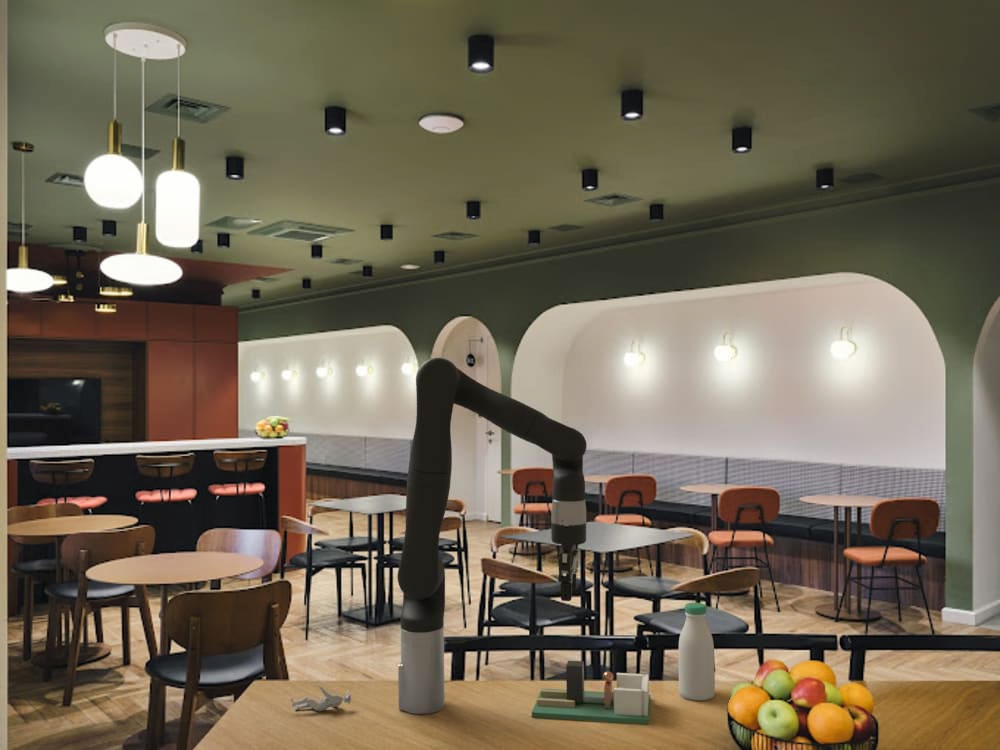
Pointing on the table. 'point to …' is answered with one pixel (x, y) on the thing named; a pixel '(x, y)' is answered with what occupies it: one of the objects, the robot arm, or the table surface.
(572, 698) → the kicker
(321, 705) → the soldier figure
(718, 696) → the table surface
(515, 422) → the robot arm
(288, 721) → the table surface
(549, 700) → the pitch
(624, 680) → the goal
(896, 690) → the table surface
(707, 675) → the milk bottle
